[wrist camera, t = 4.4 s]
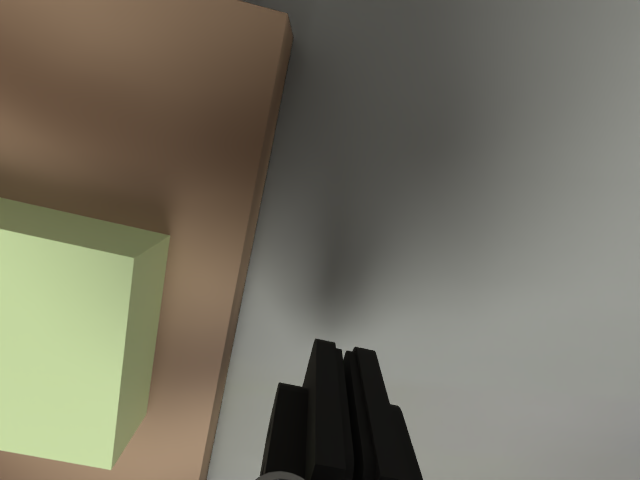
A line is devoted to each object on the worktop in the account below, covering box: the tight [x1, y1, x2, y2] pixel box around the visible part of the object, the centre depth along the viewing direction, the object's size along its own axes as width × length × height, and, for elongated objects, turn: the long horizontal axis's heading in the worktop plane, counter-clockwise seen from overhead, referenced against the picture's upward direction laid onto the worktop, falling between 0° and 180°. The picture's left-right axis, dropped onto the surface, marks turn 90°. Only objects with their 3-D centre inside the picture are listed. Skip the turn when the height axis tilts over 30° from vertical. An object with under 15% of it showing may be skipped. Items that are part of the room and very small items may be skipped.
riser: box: [0, 0, 293, 480], centre depth 11 cm, size 18×12×2 cm, turn 167°
